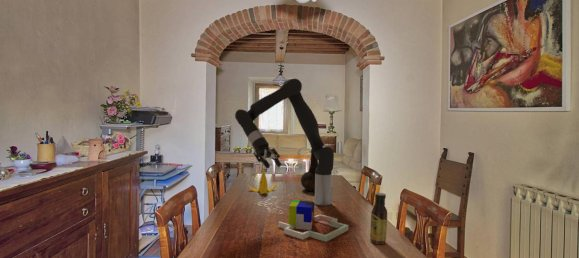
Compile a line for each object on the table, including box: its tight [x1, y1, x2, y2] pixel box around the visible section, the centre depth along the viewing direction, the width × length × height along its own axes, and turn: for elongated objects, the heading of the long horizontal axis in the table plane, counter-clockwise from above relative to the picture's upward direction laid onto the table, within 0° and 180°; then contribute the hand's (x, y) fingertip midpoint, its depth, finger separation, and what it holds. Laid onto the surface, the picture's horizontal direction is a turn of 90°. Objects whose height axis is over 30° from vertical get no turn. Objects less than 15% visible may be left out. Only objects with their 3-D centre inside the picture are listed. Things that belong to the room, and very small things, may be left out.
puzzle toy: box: [288, 199, 315, 231], centre depth 147 cm, size 10×10×10 cm
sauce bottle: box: [369, 192, 388, 245], centre depth 129 cm, size 6×6×20 cm
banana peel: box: [247, 166, 277, 195], centre depth 210 cm, size 16×19×17 cm
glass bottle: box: [300, 148, 319, 192], centre depth 218 cm, size 18×18×28 cm
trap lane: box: [278, 213, 349, 243], centre depth 143 cm, size 25×27×2 cm
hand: (274, 166), depth 158 cm, fingers open, 8 cm apart
